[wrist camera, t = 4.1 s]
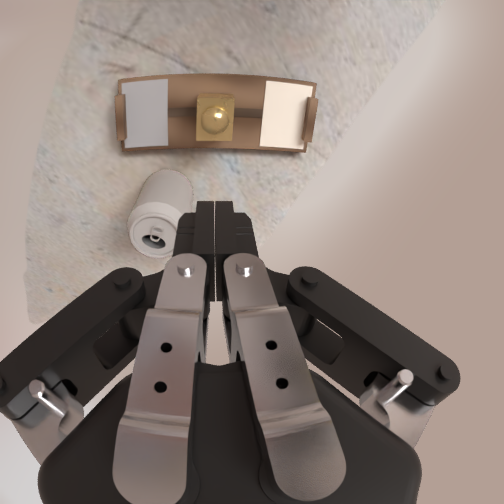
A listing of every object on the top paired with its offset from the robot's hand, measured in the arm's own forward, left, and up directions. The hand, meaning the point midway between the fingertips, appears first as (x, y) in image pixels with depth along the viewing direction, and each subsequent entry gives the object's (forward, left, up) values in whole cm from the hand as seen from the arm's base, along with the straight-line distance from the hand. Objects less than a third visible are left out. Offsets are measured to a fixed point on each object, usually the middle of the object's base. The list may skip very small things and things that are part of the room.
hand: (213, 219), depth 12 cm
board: (0, 0, -27) cm, 27 cm away
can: (+12, -7, -27) cm, 30 cm away
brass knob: (0, 0, -25) cm, 25 cm away
